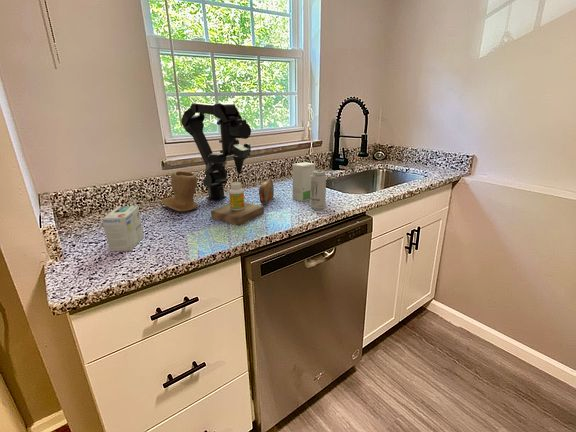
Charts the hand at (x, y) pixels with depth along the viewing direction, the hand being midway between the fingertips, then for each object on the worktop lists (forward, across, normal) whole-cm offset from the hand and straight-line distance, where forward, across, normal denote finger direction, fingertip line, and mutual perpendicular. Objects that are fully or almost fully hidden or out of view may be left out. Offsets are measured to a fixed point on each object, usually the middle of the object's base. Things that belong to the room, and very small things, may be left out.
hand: (231, 176), depth 127 cm
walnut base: (+12, -10, -11) cm, 19 cm away
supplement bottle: (+9, -10, -11) cm, 17 cm away
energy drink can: (+12, +13, -33) cm, 38 cm away
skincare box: (+12, +21, -22) cm, 33 cm away
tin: (+12, +10, -10) cm, 19 cm away
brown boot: (+12, -14, +15) cm, 24 cm away
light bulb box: (+12, -46, +3) cm, 48 cm away
